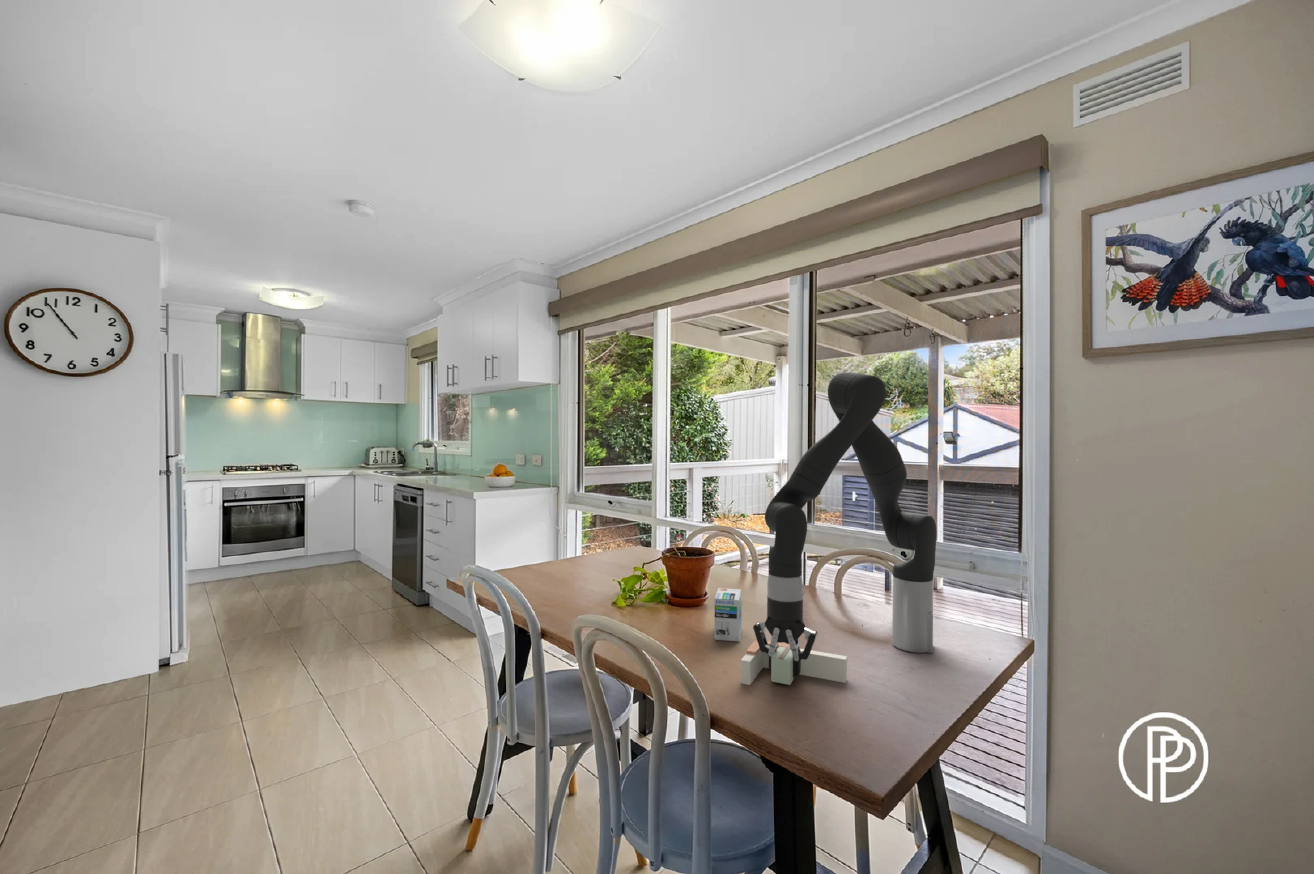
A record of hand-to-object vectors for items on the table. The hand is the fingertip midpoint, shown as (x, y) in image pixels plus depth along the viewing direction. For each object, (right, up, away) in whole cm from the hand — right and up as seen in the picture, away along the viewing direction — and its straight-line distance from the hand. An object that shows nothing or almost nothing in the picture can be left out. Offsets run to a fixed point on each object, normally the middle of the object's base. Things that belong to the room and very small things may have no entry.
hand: (784, 673), depth 123 cm
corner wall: (+2, -1, 0) cm, 2 cm away
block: (0, -1, 0) cm, 1 cm away
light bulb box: (-9, -1, +28) cm, 29 cm away
